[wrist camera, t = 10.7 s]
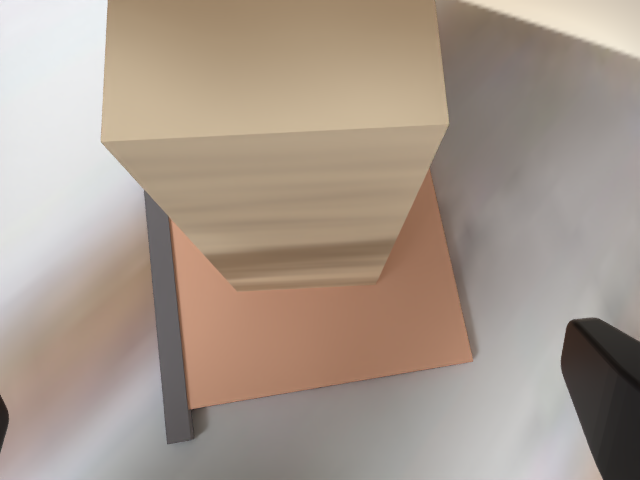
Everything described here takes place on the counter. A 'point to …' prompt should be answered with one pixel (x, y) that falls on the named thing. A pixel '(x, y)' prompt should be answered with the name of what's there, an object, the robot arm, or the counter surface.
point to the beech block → (278, 128)
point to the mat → (299, 321)
